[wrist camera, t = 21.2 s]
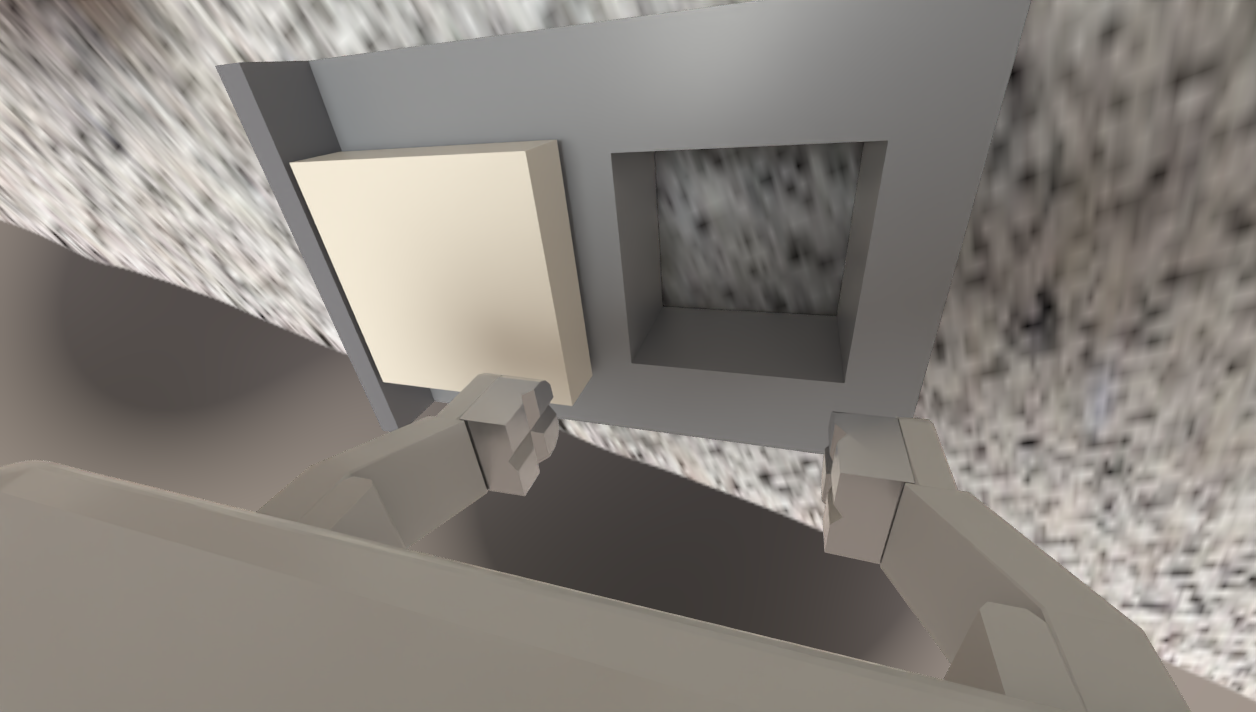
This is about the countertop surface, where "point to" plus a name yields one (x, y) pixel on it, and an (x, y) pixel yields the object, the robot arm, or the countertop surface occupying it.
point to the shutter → (455, 261)
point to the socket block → (627, 198)
